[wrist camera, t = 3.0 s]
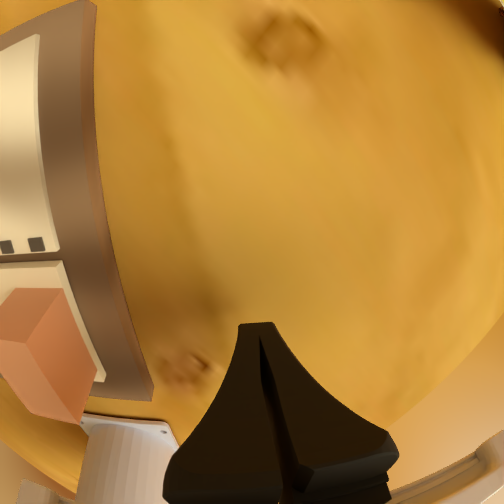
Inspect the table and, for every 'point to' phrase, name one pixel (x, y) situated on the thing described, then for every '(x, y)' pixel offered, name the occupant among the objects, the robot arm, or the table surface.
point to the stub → (45, 341)
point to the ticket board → (63, 183)
